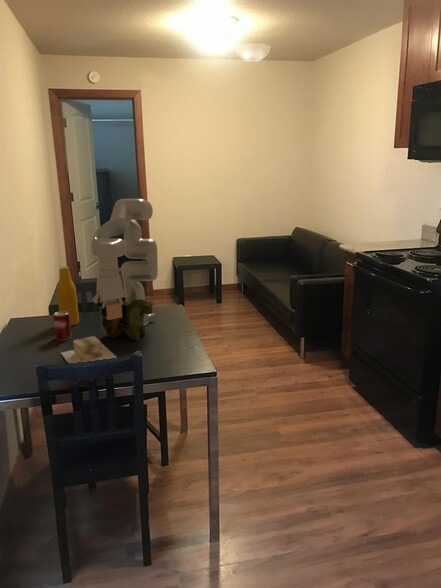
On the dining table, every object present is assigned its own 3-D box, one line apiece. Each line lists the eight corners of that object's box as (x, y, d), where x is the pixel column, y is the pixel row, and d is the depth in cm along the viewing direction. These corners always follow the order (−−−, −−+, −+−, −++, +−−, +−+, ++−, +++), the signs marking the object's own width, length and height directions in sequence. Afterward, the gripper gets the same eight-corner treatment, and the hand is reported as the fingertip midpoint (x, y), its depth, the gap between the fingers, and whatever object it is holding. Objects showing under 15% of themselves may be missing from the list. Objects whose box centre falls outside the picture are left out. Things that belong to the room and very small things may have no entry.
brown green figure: (118, 339, 231) (165, 328, 225) (105, 350, 216) (154, 338, 210) (105, 303, 228) (153, 290, 222) (91, 311, 213) (141, 298, 207)
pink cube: (116, 313, 201) (115, 299, 199) (122, 317, 196) (121, 303, 194) (102, 316, 197) (101, 302, 196) (108, 320, 193) (107, 305, 191)
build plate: (102, 345, 211) (102, 343, 211) (116, 358, 196) (116, 357, 196) (61, 354, 202) (61, 352, 202) (73, 369, 187) (72, 367, 187)
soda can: (67, 341, 216) (64, 316, 213) (52, 340, 218) (49, 315, 215) (74, 335, 223) (72, 311, 220) (60, 334, 225) (57, 310, 221)
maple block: (95, 349, 205) (94, 336, 203) (102, 356, 198) (101, 342, 196) (74, 353, 200) (73, 340, 199) (80, 360, 193) (79, 347, 191)
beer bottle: (56, 324, 239) (49, 268, 231) (70, 319, 246) (64, 264, 238) (69, 327, 234) (62, 270, 226) (83, 322, 242) (77, 266, 234)
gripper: (125, 268, 199) (128, 309, 204) (84, 273, 190) (88, 316, 195) (132, 271, 193) (135, 313, 198) (91, 277, 184) (95, 321, 189)
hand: (112, 314), depth 196 cm, fingers closed on pink cube, 6 cm apart
